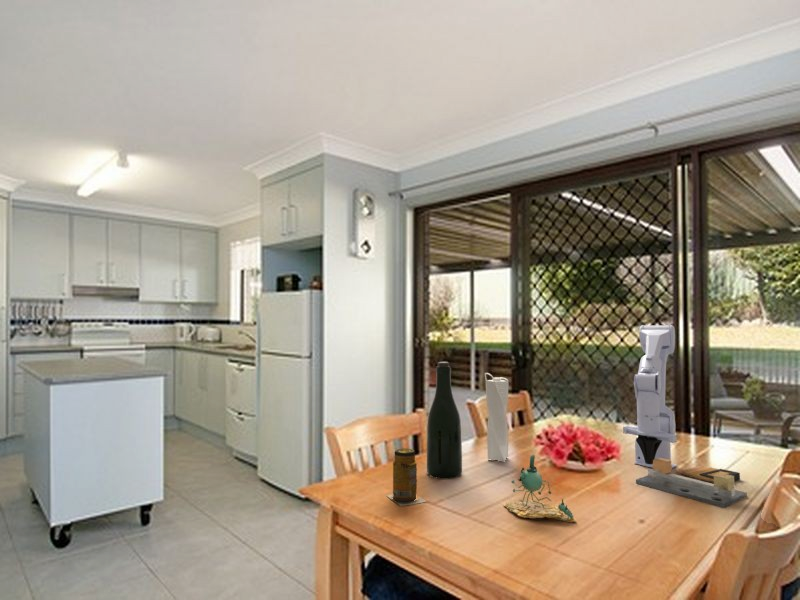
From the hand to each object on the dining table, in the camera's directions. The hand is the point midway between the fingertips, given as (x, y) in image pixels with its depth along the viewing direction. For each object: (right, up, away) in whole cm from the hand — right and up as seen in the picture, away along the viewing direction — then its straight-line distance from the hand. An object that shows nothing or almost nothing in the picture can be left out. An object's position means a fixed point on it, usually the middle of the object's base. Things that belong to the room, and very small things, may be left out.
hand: (649, 463), depth 140 cm
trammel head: (+1, -2, -4) cm, 5 cm away
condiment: (-70, -4, -15) cm, 71 cm away
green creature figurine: (-39, -4, -25) cm, 47 cm away
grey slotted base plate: (+6, -4, -9) cm, 11 cm away
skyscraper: (-39, -6, +21) cm, 45 cm away
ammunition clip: (+20, -3, -4) cm, 21 cm away
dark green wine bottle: (-58, -5, +5) cm, 58 cm away
